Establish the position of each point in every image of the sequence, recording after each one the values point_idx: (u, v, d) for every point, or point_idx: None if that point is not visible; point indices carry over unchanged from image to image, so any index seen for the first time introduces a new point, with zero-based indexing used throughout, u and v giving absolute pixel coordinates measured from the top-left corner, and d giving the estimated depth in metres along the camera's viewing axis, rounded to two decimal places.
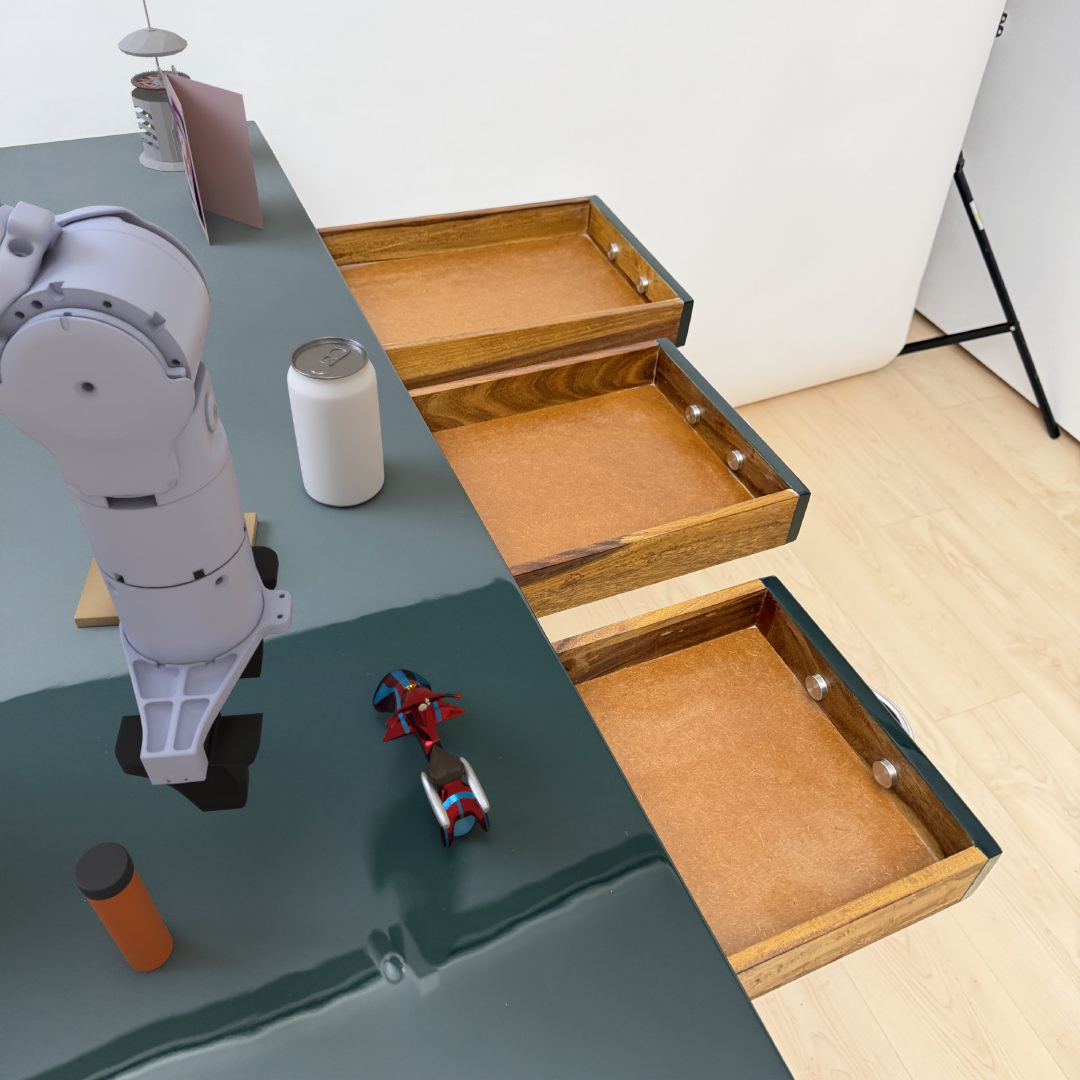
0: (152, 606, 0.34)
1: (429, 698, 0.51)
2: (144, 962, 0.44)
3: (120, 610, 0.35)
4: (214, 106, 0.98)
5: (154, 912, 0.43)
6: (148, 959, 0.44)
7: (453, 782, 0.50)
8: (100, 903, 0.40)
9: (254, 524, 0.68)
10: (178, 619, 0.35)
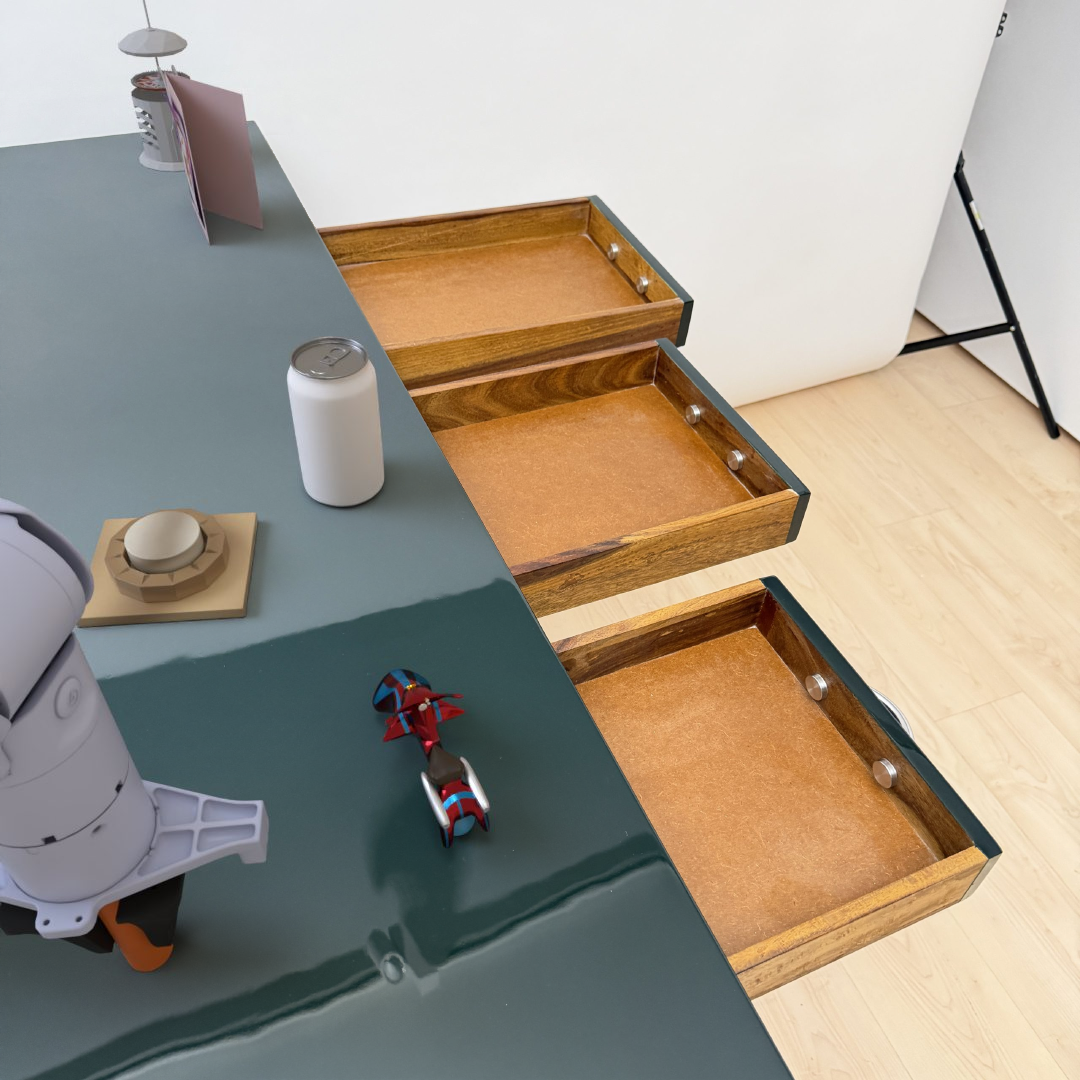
0: None
1: (429, 698, 0.51)
2: (145, 962, 0.44)
3: None
4: (214, 106, 0.98)
5: None
6: (149, 959, 0.44)
7: (453, 782, 0.50)
8: None
9: (254, 524, 0.68)
10: None
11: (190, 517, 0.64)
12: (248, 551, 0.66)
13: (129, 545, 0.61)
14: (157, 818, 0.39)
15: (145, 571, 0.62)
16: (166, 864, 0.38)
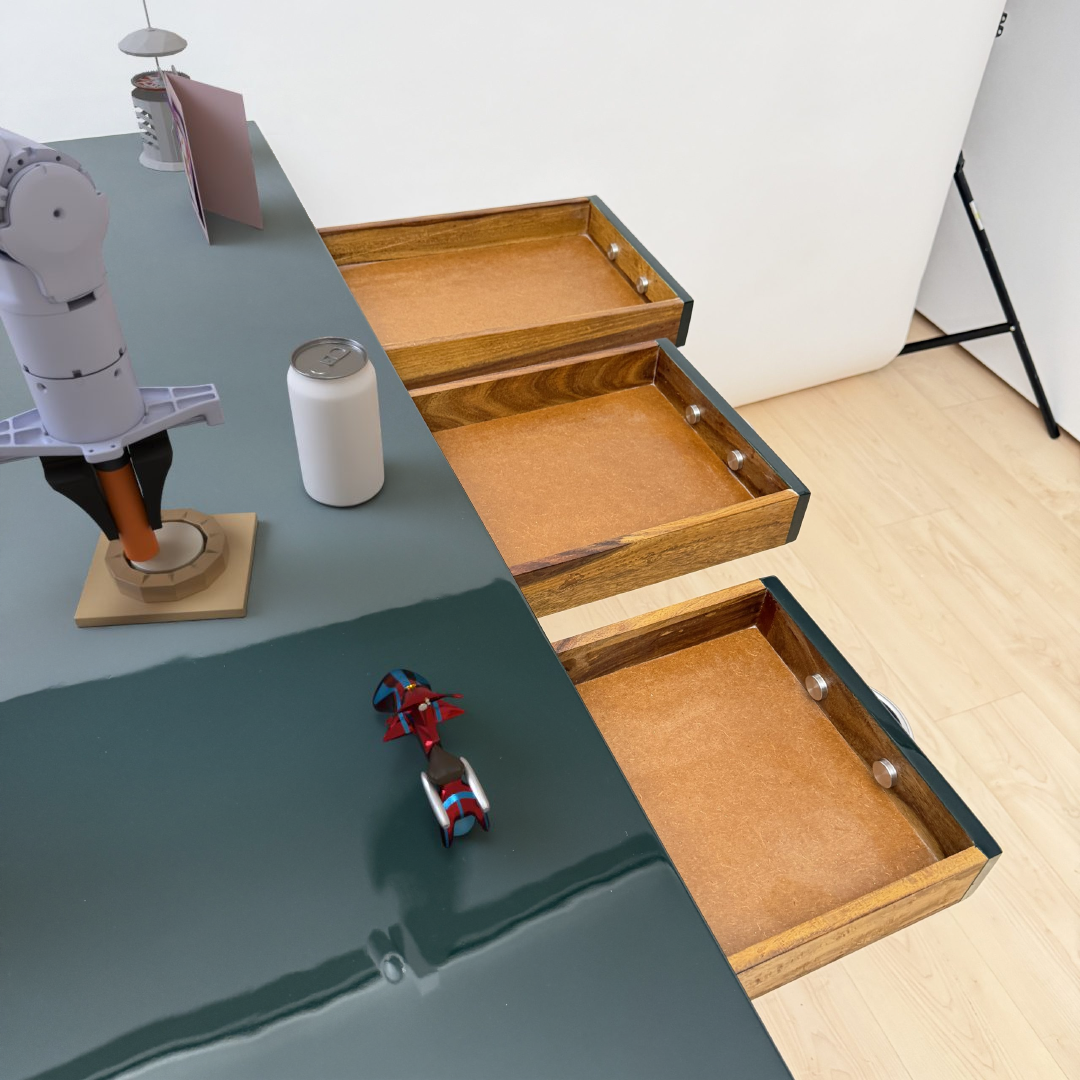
0: None
1: (429, 698, 0.51)
2: (143, 549, 0.61)
3: None
4: (214, 106, 0.98)
5: None
6: (146, 545, 0.61)
7: (453, 782, 0.50)
8: (113, 476, 0.57)
9: (254, 524, 0.68)
10: (30, 390, 0.52)
11: (193, 528, 0.65)
12: (248, 551, 0.66)
13: None
14: (143, 400, 0.56)
15: None
16: None
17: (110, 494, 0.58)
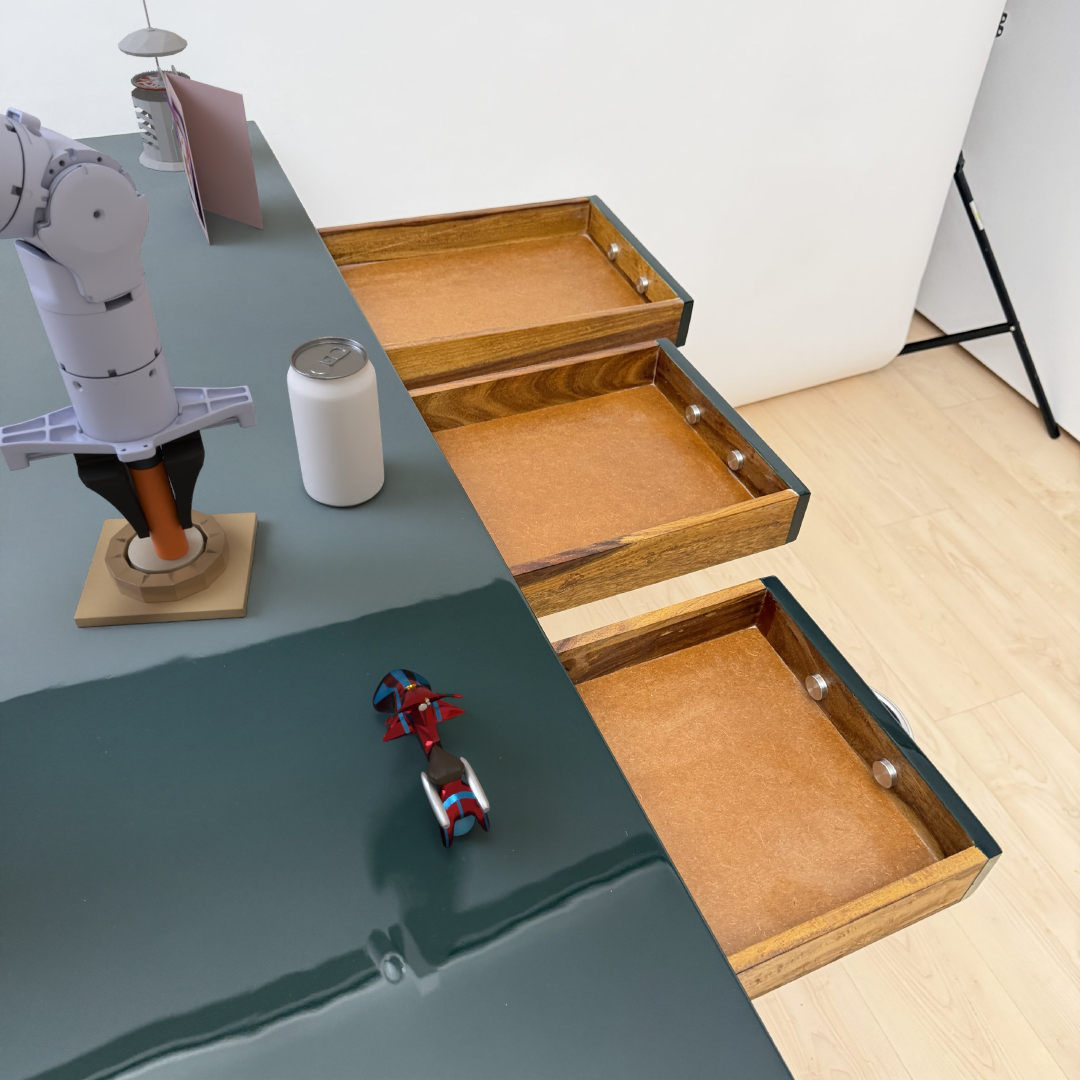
0: None
1: (429, 698, 0.51)
2: (173, 547, 0.62)
3: None
4: (214, 106, 0.98)
5: None
6: (176, 544, 0.61)
7: (453, 782, 0.50)
8: (145, 474, 0.57)
9: (254, 524, 0.68)
10: (66, 388, 0.52)
11: (193, 528, 0.65)
12: (248, 551, 0.66)
13: (133, 556, 0.62)
14: (177, 400, 0.56)
15: None
16: None
17: (142, 492, 0.58)
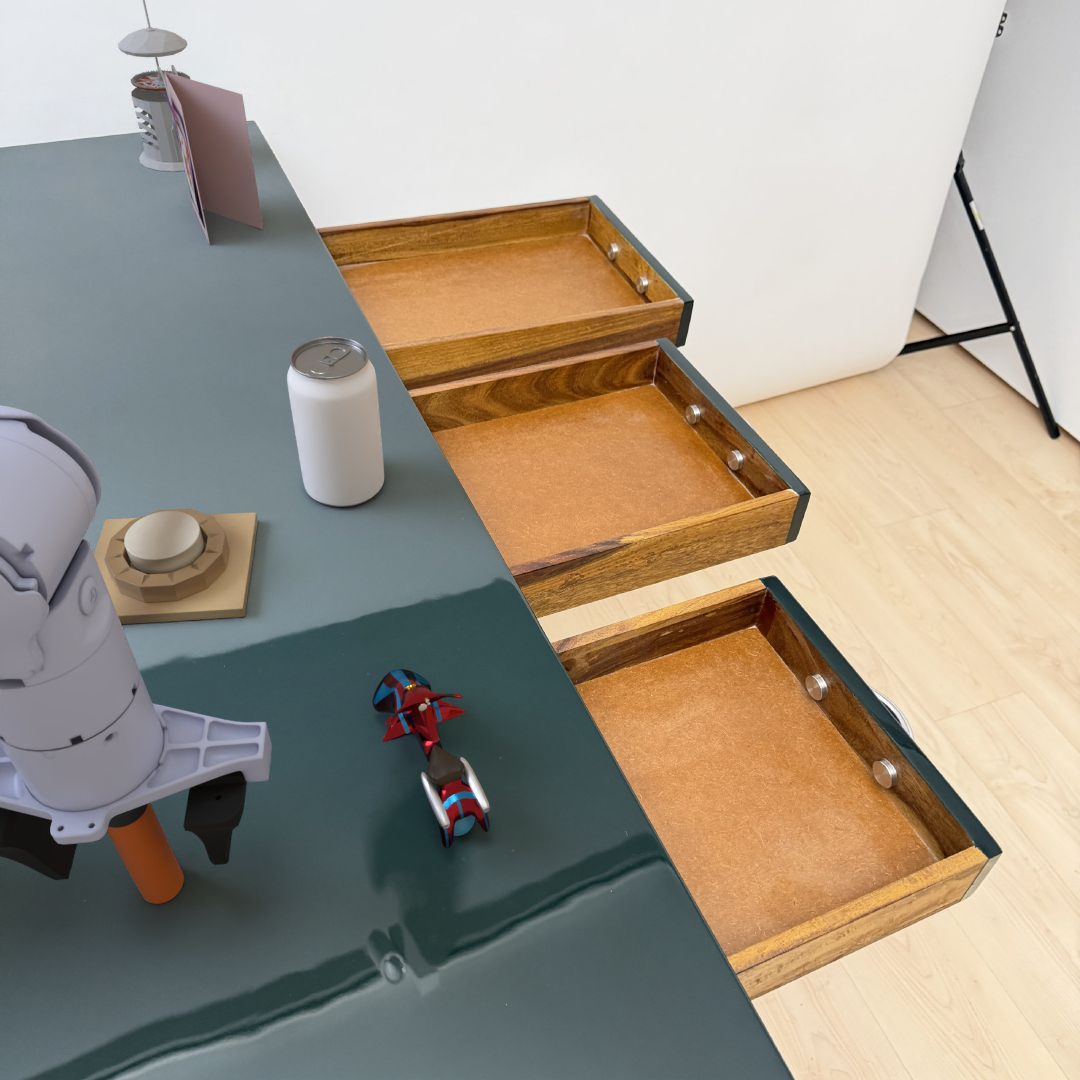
0: None
1: (429, 698, 0.51)
2: (157, 894, 0.47)
3: None
4: (214, 106, 0.98)
5: (167, 845, 0.46)
6: (161, 890, 0.47)
7: (453, 782, 0.50)
8: (117, 831, 0.42)
9: (254, 524, 0.68)
10: None
11: (190, 517, 0.64)
12: (248, 551, 0.66)
13: (129, 545, 0.61)
14: (165, 736, 0.40)
15: (145, 571, 0.62)
16: (174, 779, 0.39)
17: (116, 844, 0.43)
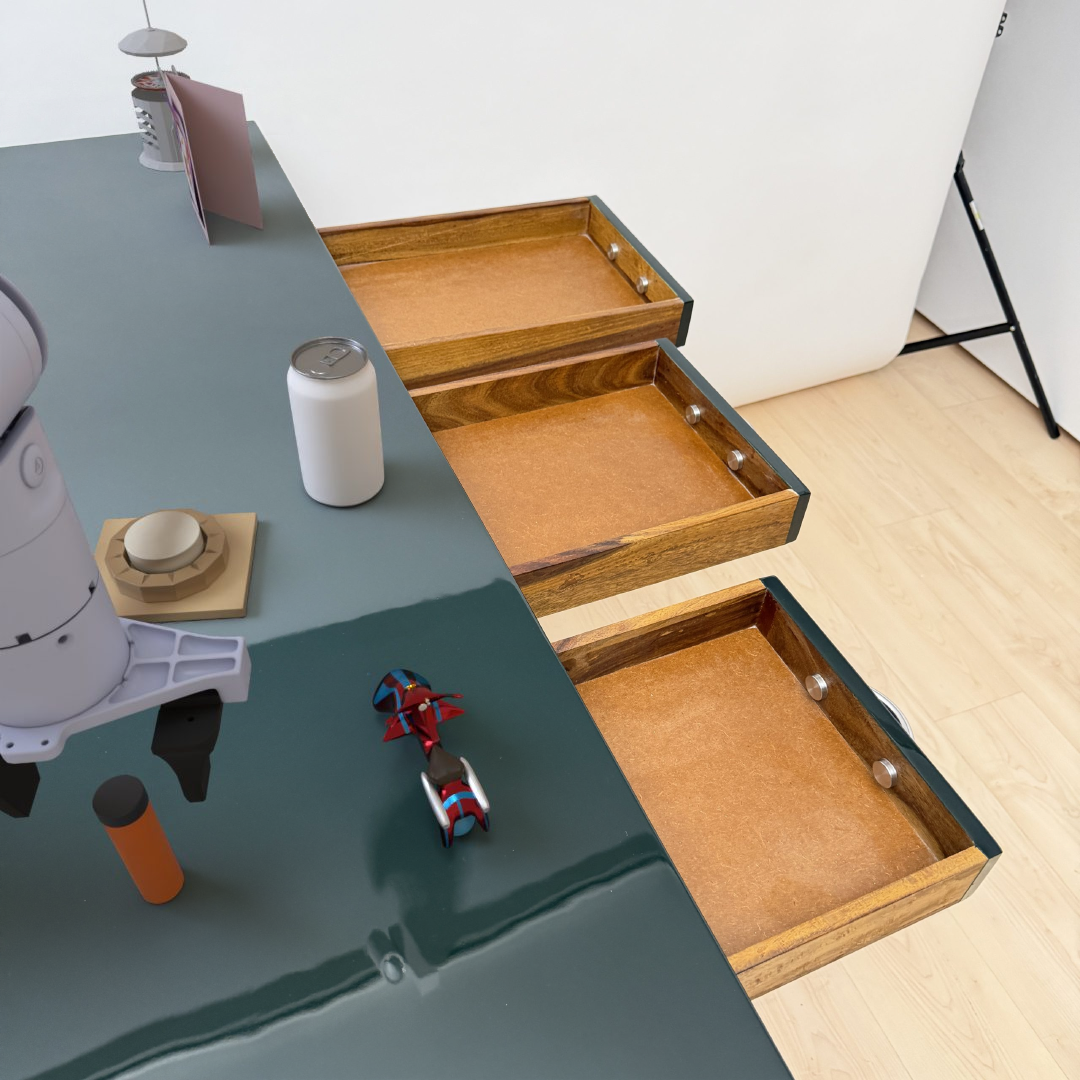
0: None
1: (429, 698, 0.51)
2: (157, 894, 0.47)
3: None
4: (214, 106, 0.98)
5: (167, 845, 0.46)
6: (161, 890, 0.47)
7: (453, 782, 0.50)
8: (117, 831, 0.42)
9: (254, 524, 0.68)
10: None
11: (190, 517, 0.64)
12: (248, 551, 0.66)
13: (129, 545, 0.61)
14: (131, 651, 0.36)
15: (145, 571, 0.62)
16: None
17: (116, 844, 0.43)
